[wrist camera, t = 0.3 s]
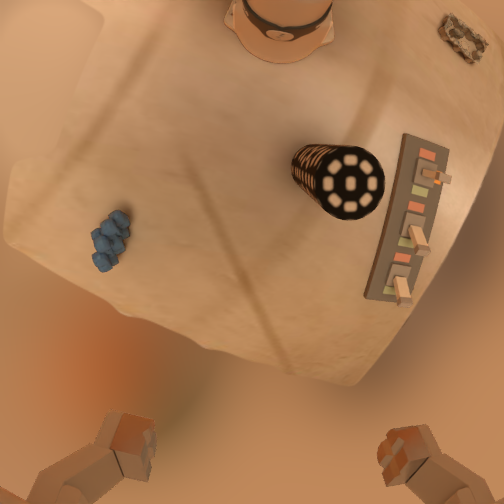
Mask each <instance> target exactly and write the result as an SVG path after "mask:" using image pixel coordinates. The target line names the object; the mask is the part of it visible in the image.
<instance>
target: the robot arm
mask: <svg viewBox="0 0 504 504" xmlns="http://www.w3.org/2000/svg"><path fill="white" fill-rule="evenodd" d="M332 1H333V0H233V1H232V3H231V5H230V7H229V9H228V11H227V13H226V15H225V17H224V23H225V25H226V26H227V27H228V28H230V29H231V30H233V31H234V32H235V33H236V34H237V36H238V38H239V39H240V41H241V43H242V44H243V46H244V47H245V48H246V49H247V50H248V51H249V52H250V53H252V54H253V55H254V56H256V57H258V58H260V59H262V60H265V61H268V62H273V63H291V62H295V61H298V60H301V59H303V58H305V57H307V56H308V55H310V54H311V53H312V52H313V51H314V50H315V49H316V48H318V47H320V46H323V45H327V44H329V43H331V42H332V41H333V39H334V27H333V18H332V9H331V7H332ZM231 14H233V16H232V15H231ZM154 428H155V422H154V420H153V419H149V418H145V417H140V416H136V415H132V414H128V413H124V412H120V411H116V410H112V409H111V410H109V411H108V413H107V415H106V417H105V419H104V421H103V424H102V426H101V428H100V430H99V433H98V435H97V437H96V440H95V442H94V444H90V443H89V444H88V445H86V446H84V447H83V448H81V449H79V450H77V451H76V452H74V453H72V454H71V455H69V456H67V457H65V458H64V459H62V460H60V461H58V462H57V463H55V464H53V465H51V466H49V467H48V468H46V469H44V470H42V471H40V472H39V475H38V477H37V479H36V481H35V483H34V485H33V487H32V489H31V491H30V494H29V496H28V498H27V500H24V499H22V498H20V497H18V496H16V495H15V494H13V493H11V492H9V491H7V490H6V489H4V488H2V487H0V504H93V503H94V502H96V501H97V500H98V499H99V498H101V497H102V496H103V495H104V494H106V493H107V492H108V491H109V490H111V488H113V487H114V486H115V485H116V484H118V483H119V482H120V481H121V480H123V479H124V477H126V478H130V479H134V480H139V481H144V482H148V480H149V476H150V472H151V468H152V467H151V462H150V460H151V459H152V458H154V456H155V452H156V446H157V435H156V432H154ZM386 436H387V439H385V440H384V441H383V442H381V444H380V445H379V447H378V452H377V459H378V462H379V465H381V466H382V467H383V468H384V470H383V472H382V475H383V478H384V481H385V484H386V486H387V487H388V486H394V485H400V484H405V485H406V486H407V487H408V488H409V489H410V490H411V491H412V492H413V493H414V494H416V495H417V496H418V497H419V498H420V499H421V500H422V501H423V502H424V503H425V504H504V498H502V499H500V500H498V501H496V502H495V500H494V498H493V496H492V494H491V492H490V490H489V487H488V485H487V483H486V481H485V479H483V478H482V477H480V476H479V475H477V474H476V473H474V472H472V471H471V470H469V469H468V468H466V467H465V466H463V465H462V464H460V463H459V462H457V461H455V460H454V459H453V458H451V457H450V456H448V455H447V454H442V452H441V450H440V448H439V446H438V444H437V442H436V440H435V438H434V436H433V434H432V432H431V430H430V428H429V426H428V425H426V424H423V425H417V426H408V427H402V428H394V429H391V430H390V431H388V433H387V434H386Z"/></svg>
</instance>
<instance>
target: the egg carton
mask: <svg viewBox="0 0 504 504" xmlns="http://www.w3.org/2000/svg"><path fill="white" fill-rule="evenodd" d="M450 20H451V21H452V22H453V25H454V27H455V28H454V29H452V30H450V31H449V34H447V33H446V31H445V30H446V29H447V28H448V27H450V26H452V23H451V21H450ZM443 22H444V24H445V26H443V27H441V28H439V30H438V32H439V33H440V35H441V39H442V40H443V41H447V40H448V41H450V42H451V43H452V45H453V50H454V51H455V52H459V51H460V52H462V53H463V55H464V57H465V61H466V62H467V63H469V62H472V63H477V64H479V62H480V59H481V58H482V53H483V52H484V51H485V50H486V47H487V46H488V45H489V44H488V43H487V42H486V40H485V39H483V38H482V37H481V36H480V35H479V34H476V33H475V32H474V31H473V29H471V28H470V27H468V26H467V25H466V24H465V23H464V22H463V21H461V20H460V19H458V18H457V17H455V16H454V15H453V14H452V13H450V14H449V15H448V17H446V18H444V19H443ZM461 30H462V31H461ZM464 35H465V37H466V39H467V40H469V41H472V40H473V41H474V42H475V45H476V48H477V51H474V52H472V58H473V59H474V60H473V59H472V58H471V57H470V53H469V52H468V49H469V46H468V44H467V43H466V42H465V41H461V46H460V45H459V41H457V40H458V39H460V38H463V37H464ZM459 47H462V48H463V50H462V48H459Z"/></svg>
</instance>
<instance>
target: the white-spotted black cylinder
mask: <svg viewBox="0 0 504 504" xmlns="http://www.w3.org/2000/svg"><path fill="white" fill-rule="evenodd" d="M291 171H292V176H293V178H294V180H295V182H296V183H297V184H298V185H299V186H300V187H301V188H302V189H303V190H304V191H305V192H306V193H307V194H308V195H309V196H310V197H311V198H312V199H314V200H315V201H316V202H317V203H318V204H319V205H320V206H321V207H322V208H323V209H324V210H325V211H326V212H328V213H329V214H330V215H332V216H334V217H336V218H338V219H342V220H357V219H360V218H363V217H365V216H367V215H369V214H370V213H371V212H372V211H373V210H375V208H376V207H377V206H378V205H379V203H380V201H381V199H382V197H383V194H384V189H385V176H384V172H383V169H382V167H381V165H380V163H379V161H378V160H377V159H376V157H375V156H374V155H372V154H371V153H370V152H369V151H367V150H365V149H363V148H360V147H357V146H349V145H327V144H311V145H307V146H305V147H303V148H301V149H300V150H299V151H298V152H297V153H296V154H295V156H294V158H293V160H292V164H291Z"/></svg>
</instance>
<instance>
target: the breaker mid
mask: <svg viewBox="0 0 504 504" xmlns="http://www.w3.org/2000/svg"><path fill="white" fill-rule="evenodd" d="M408 231H409V234H410V237H411V240H412V243H413V246H414V252H415V255H420V256H425V257H427V256H428V255H429V253H430V252H431V251H430V248H429V246H428V244H427V242H426V239H425V236H424V234H423V231H422V228H421V227H417V226H413V225H411V226H410V227H409V229H408Z"/></svg>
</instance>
